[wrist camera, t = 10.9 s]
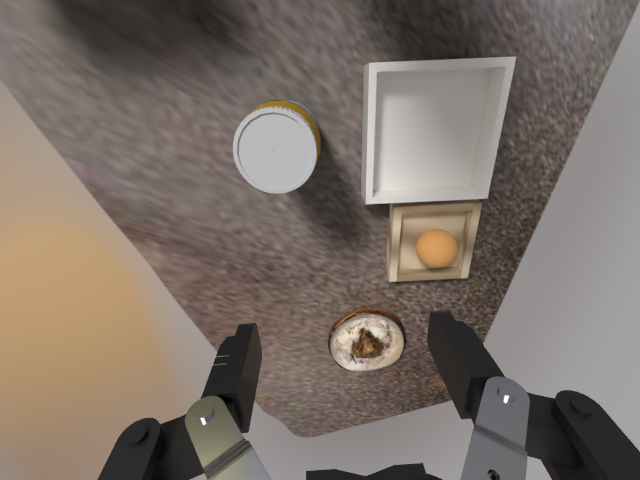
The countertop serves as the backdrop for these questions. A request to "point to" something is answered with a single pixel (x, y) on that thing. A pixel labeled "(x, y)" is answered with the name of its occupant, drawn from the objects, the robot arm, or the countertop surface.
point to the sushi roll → (367, 339)
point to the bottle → (277, 146)
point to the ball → (436, 248)
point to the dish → (432, 128)
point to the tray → (424, 216)
